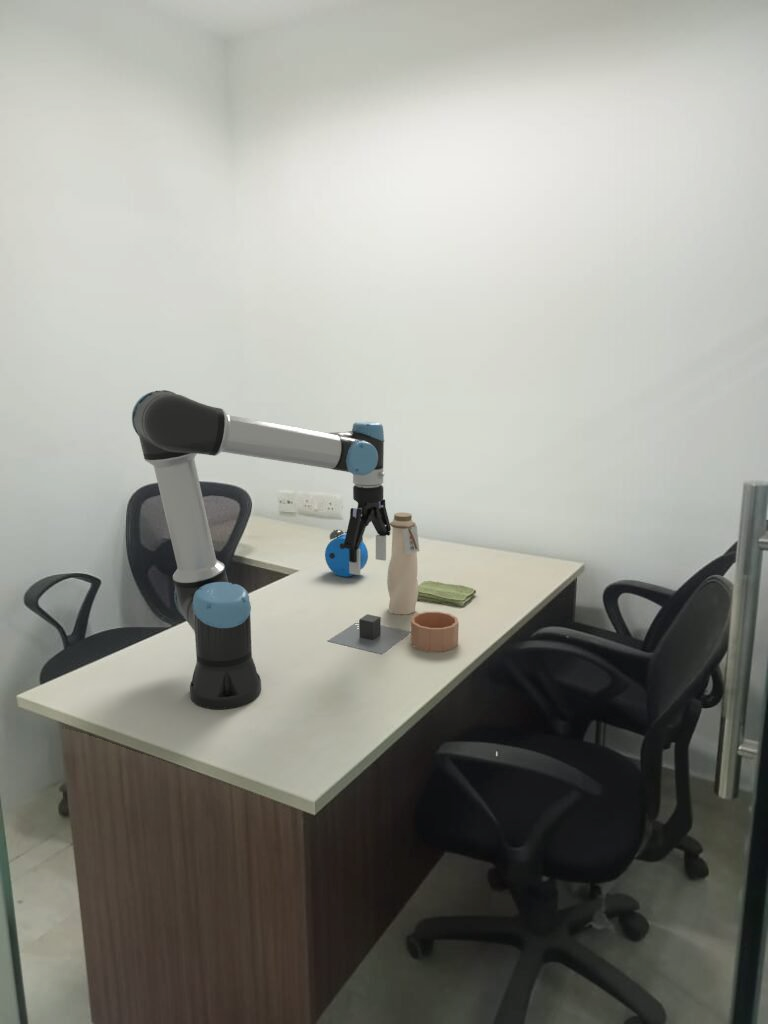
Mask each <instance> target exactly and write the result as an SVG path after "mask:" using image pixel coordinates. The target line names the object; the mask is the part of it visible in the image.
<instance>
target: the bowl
mask: <svg viewBox="0 0 768 1024" xmlns="http://www.w3.org/2000/svg"><path fill="white" fill-rule="evenodd" d="M459 625H460V624H459V619H458V617H456V616H455V615H452V614H451V613H448V612H444V611H424V612H419V613H416V614H414V615H413V616H412V617H410V631H411V633H410V644H411V646H412V647H414V646H415V647H414V648H416V649H418V650H419V651H425V652H428V651H429V652H428V653H443V652H442V651H444V652H447V651H446V650H448V651H451V650H450V649H452V650H454V649H455V648H456V647H457V646H458V645H459ZM453 648H454V649H453ZM433 651H434V652H433ZM438 651H439V652H438Z"/></svg>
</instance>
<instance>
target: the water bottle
mask: <svg viewBox="0 0 768 1024" xmlns="http://www.w3.org/2000/svg"><path fill="white" fill-rule="evenodd" d="M412 517H413V515H412V513H409V512H396V513H393V519H392V521H391V522H389V523H390V527H392V529H391V530H392V531H391V532H392V533H391V535H392V536H391V537H392V538H391V556H390V561H389V563H388V564H389V565H388V568H387V576H386V577H387V580H386V582H387V583H386V584H387V585H386V586H387V591H388V595H389V603H388V609H389V610H388V611H389V612H390V613H391V612H392V613H391V614H393V613H395V615H400V614H404V615H409V614H413V613H414V612H415V611H416V606H417V602H418V600H417V598H418V586H419V582H418V554H417V553H418V552H420V545H419V535H418V528H417V527H418V526H417V524H416V522H414V519H413V518H412Z"/></svg>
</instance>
